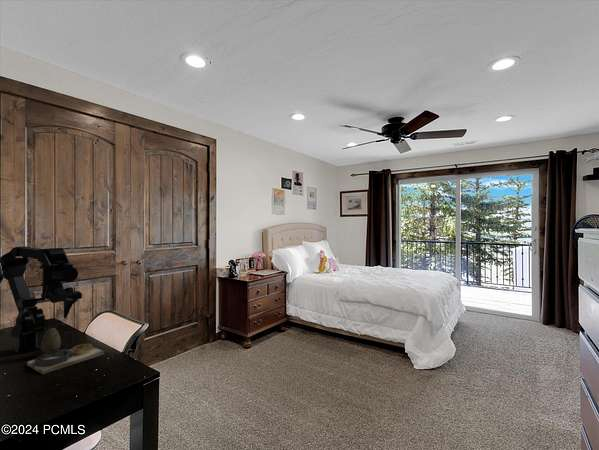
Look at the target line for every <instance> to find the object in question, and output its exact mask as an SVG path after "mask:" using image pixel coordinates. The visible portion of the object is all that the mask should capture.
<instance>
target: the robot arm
mask: <svg viewBox="0 0 599 450" xmlns="http://www.w3.org/2000/svg"><path fill="white" fill-rule="evenodd" d="M30 259H35V260H37V262H39V263H41V265H40V266H38V267H39V269H42V270H41V271H42V274H41V275H42V276H41V277H42V280H41V284H40V286H41V294H40V297H37V298H36V297H33V296H32V295H31V294H30V290H29V287H28V284H27V283H26V279H25V276H24V274H25V273H26V270H27V265H28V264H29V262H30ZM0 263H1V266H2V271H3V276H4V277H2V278H4V279H6V280H7V282H8V285H9V289H10V291H11V295H12V297H13V300H14V303H15V306H16V310H17V312H18V313H17V316H16V318H15V320H14V321H15V325H14V326H13V327H12V329H11V330H10V336H11V337H12V338H16V339H17V348H14V349H13V351H15V352H16V353H18V354H24V353H28V352H31V351H35V350H38V349H41V345H38V333H40V332H44V330H45V326H46V322H47V319H46V316H45V314H44V310H43V309H42V307H40V308H39V307H38V306H36V305H38V304H43V303H47V302H50V303H52V304H56V303H61V302H63V318H64V319H67V317H68V315H69V313H70V310H71V309H72V306H73V305H74V304H75V303H76V302H78V301H79V300H81V299H83V293H82V292H81V291H79V290H74V288H73V287H72V286H69V287H65V288H64V284H63V283H72V282H75V281H76V280H77V278H78V277H79V271H78V269H77V268H76V267H74V263H71V259H70V258H69V257H68V254H67V251H65V249H64V248H63V247H52V248H51V247H50V248H37V247H30V246H14V247H12V248H11V249H10V251H8V252H7V253H5V254H3V255H1V256H0Z"/></svg>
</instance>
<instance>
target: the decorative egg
mask: <svg viewBox="0 0 599 450" xmlns="http://www.w3.org/2000/svg"><path fill="white" fill-rule="evenodd" d="M61 344H62V339H61V336H60V333H59V331H58V330H57V328H55V327H50V328H48V329H47V330H46V331H45V333H44V334H43V336H42V339H41V343H40V347H41V348H40V349H41V352H42V354H43V353H47V352H50V351H54V350H60V348H61Z"/></svg>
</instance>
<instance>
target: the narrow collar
mask: <svg viewBox="0 0 599 450" xmlns="http://www.w3.org/2000/svg"><path fill="white" fill-rule="evenodd" d="M93 347H94V344H92V343H89V342H88V343H80V344H77V345H75V346H73V347H72V348H71V349H72V354H74V355H82V354H86V353H89V352H91V351H92V350H93Z"/></svg>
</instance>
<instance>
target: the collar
mask: <svg viewBox="0 0 599 450" xmlns="http://www.w3.org/2000/svg"><path fill="white" fill-rule="evenodd" d="M54 356H61V357H58V358H55V359H47V358H51V357H54ZM71 357H72V351H70V349H68V348H66V349H64V348H63V349H58V350H54V351H50V352H47V353H43V352H42V353H41V354H40V355H38V356H36V357H35V358H34V360H35V364H36V365H37V366H39V367H42V366H53V365H56V364H60V363H63V362H66V361H68V360H69V359H70V358H71ZM44 359H46V360H44Z"/></svg>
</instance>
